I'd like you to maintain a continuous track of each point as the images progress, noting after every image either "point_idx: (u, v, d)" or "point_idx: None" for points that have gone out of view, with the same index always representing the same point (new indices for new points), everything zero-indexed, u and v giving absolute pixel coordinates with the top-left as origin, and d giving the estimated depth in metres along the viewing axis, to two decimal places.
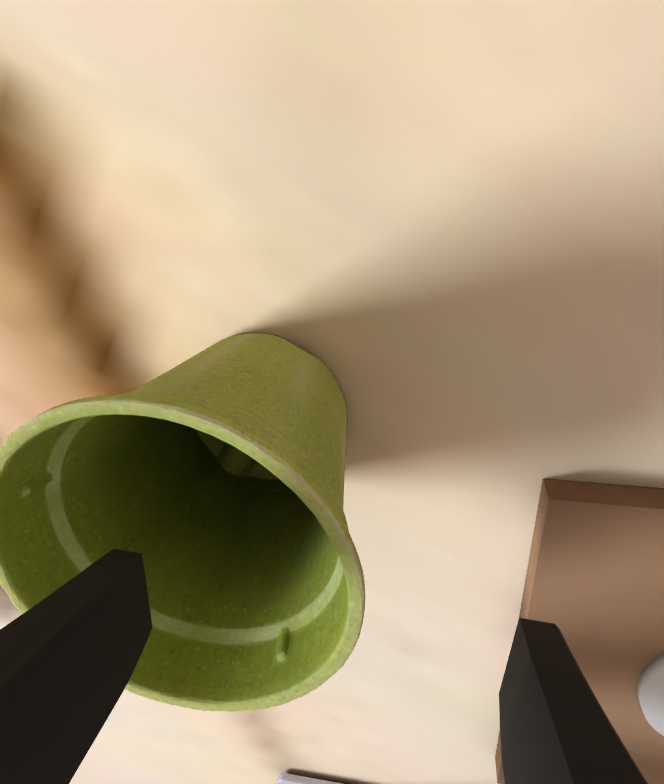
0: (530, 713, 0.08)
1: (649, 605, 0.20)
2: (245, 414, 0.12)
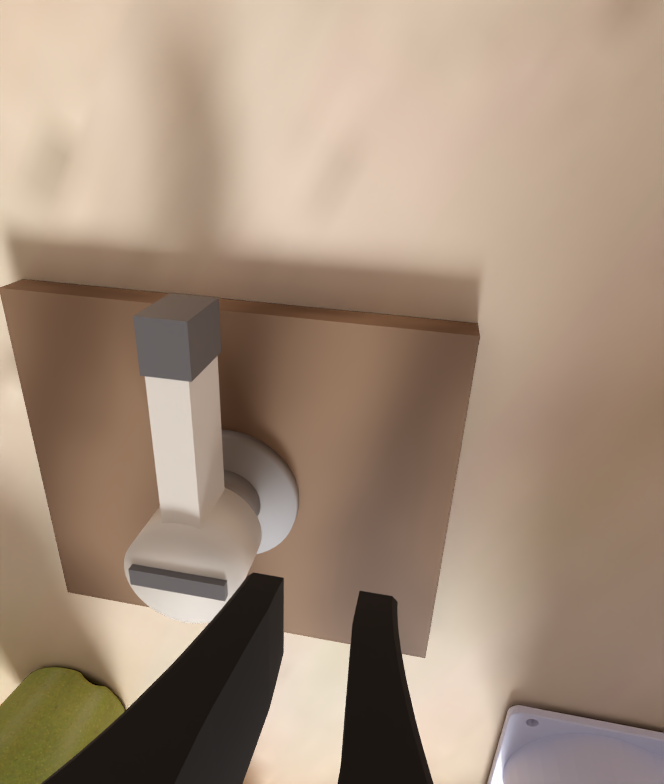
0: None
1: None
2: None
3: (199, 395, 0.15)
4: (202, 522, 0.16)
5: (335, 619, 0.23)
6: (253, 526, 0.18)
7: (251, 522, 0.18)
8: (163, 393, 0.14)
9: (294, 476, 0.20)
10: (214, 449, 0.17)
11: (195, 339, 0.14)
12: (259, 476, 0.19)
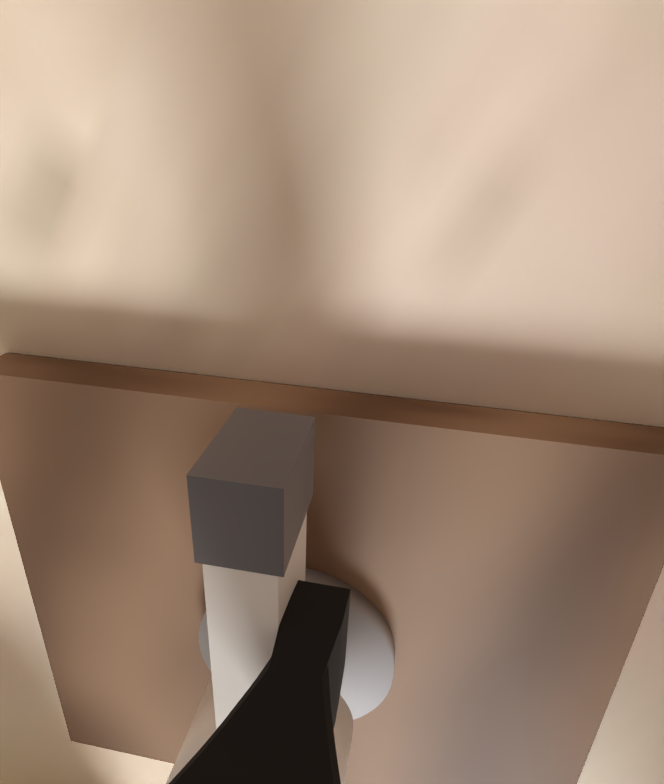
0: None
1: (175, 686, 0.17)
2: None
3: (287, 580, 0.09)
4: None
5: None
6: (345, 726, 0.12)
7: (343, 722, 0.12)
8: (232, 588, 0.09)
9: (390, 628, 0.14)
10: None
11: (290, 506, 0.08)
12: None
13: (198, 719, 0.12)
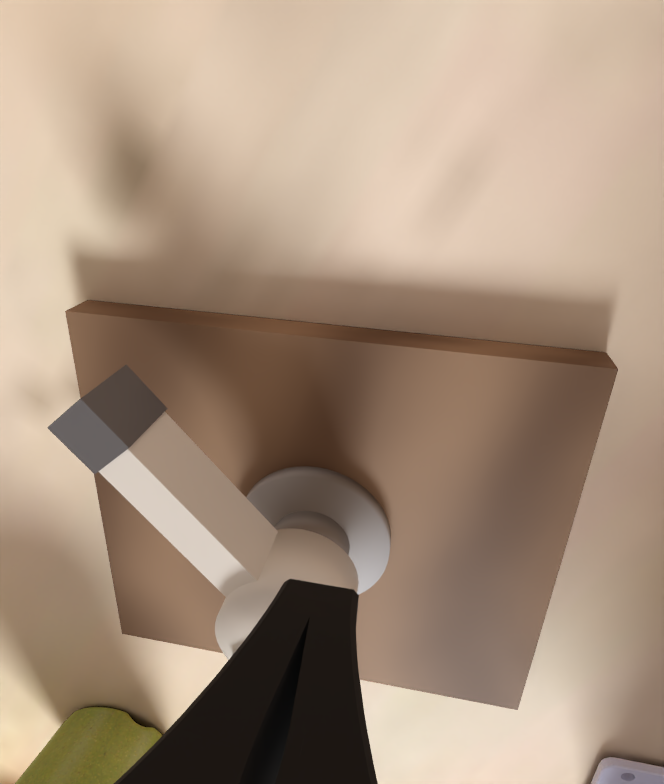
0: None
1: None
2: None
3: (158, 456, 0.14)
4: (256, 573, 0.15)
5: (419, 667, 0.21)
6: (325, 548, 0.16)
7: (320, 546, 0.16)
8: (122, 476, 0.14)
9: (387, 517, 0.18)
10: (226, 498, 0.15)
11: (108, 409, 0.13)
12: (351, 518, 0.18)
13: None
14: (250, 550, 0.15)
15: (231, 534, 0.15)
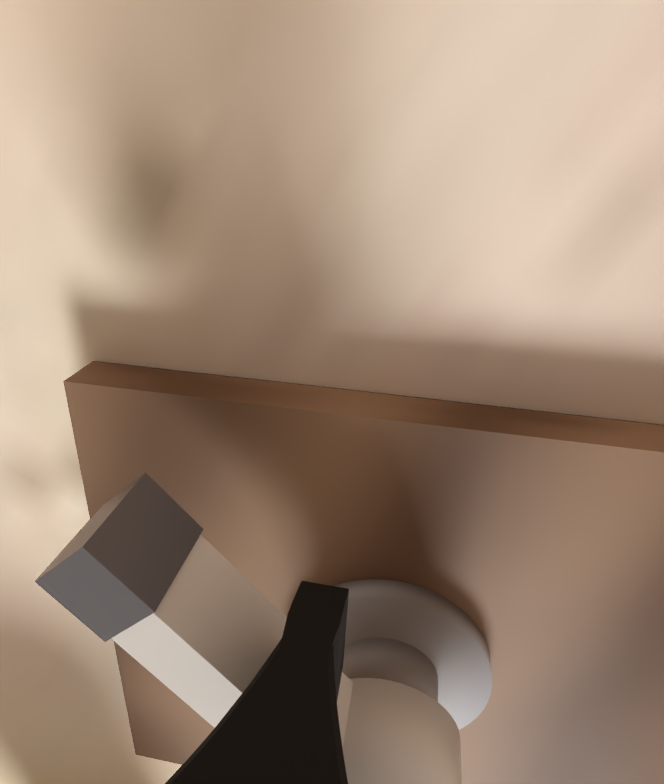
0: None
1: None
2: None
3: (195, 611, 0.10)
4: None
5: None
6: (421, 710, 0.12)
7: (414, 707, 0.12)
8: (145, 644, 0.10)
9: (487, 643, 0.14)
10: None
11: (123, 554, 0.09)
12: (443, 649, 0.13)
13: None
14: None
15: None
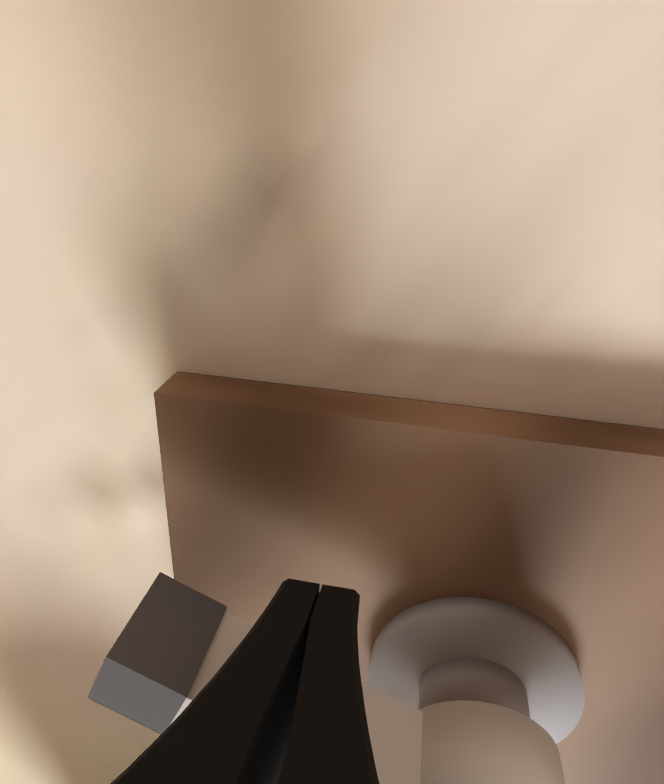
0: None
1: None
2: None
3: None
4: None
5: None
6: (493, 723, 0.11)
7: (485, 721, 0.11)
8: None
9: (578, 663, 0.13)
10: None
11: (147, 652, 0.10)
12: (535, 670, 0.13)
13: None
14: (394, 766, 0.11)
15: None
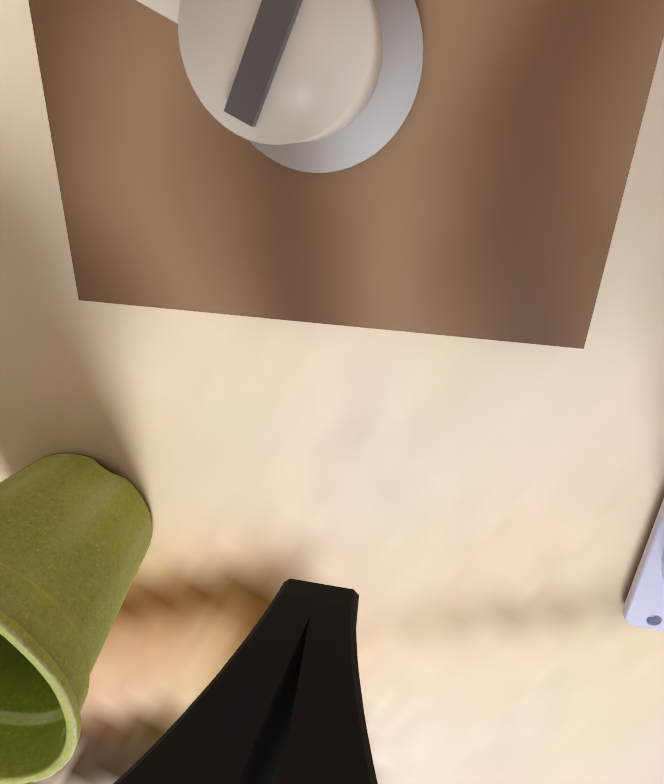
0: None
1: (189, 178, 0.16)
2: None
3: None
4: None
5: (457, 294, 0.16)
6: None
7: None
8: None
9: (419, 14, 0.13)
10: None
11: None
12: None
13: None
14: None
15: None
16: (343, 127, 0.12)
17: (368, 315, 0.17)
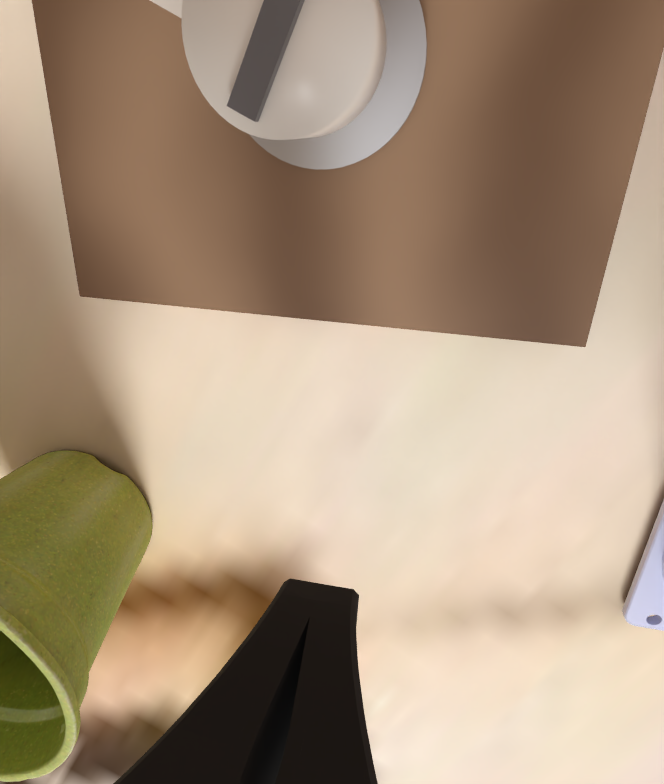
0: None
1: (190, 174, 0.16)
2: None
3: None
4: None
5: (458, 292, 0.16)
6: None
7: None
8: None
9: (423, 11, 0.13)
10: None
11: None
12: None
13: None
14: None
15: None
16: (346, 123, 0.12)
17: (370, 312, 0.17)
